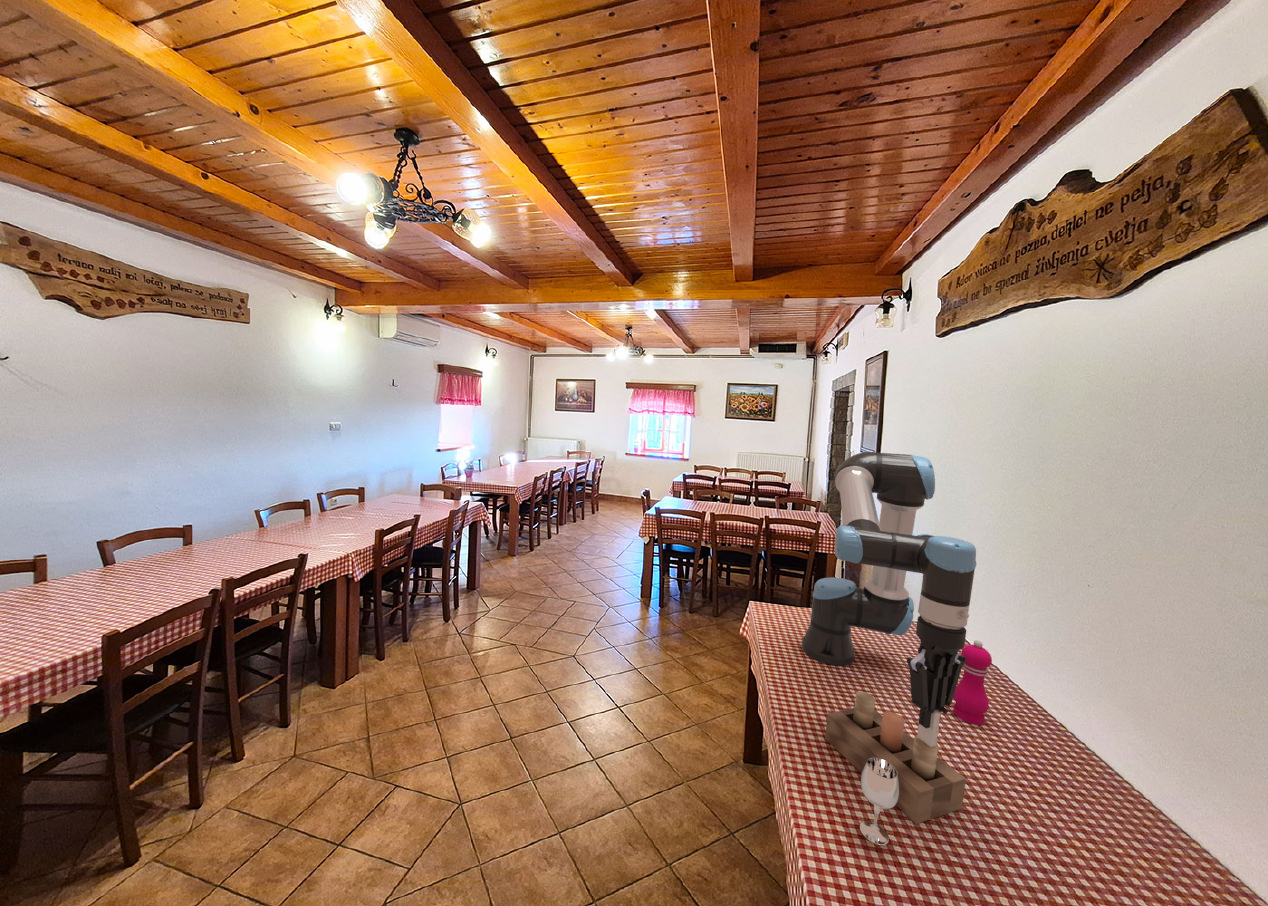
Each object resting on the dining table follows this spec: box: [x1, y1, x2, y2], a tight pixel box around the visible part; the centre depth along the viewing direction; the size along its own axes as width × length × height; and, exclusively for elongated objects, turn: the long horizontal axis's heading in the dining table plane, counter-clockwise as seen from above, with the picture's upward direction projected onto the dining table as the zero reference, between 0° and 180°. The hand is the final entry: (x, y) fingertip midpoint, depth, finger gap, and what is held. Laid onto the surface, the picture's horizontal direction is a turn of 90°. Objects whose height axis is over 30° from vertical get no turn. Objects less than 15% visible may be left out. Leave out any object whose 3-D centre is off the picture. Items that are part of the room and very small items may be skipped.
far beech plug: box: [853, 691, 876, 729], centre depth 98 cm, size 4×4×6 cm
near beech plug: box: [911, 734, 939, 780], centre depth 85 cm, size 4×4×6 cm
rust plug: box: [880, 711, 906, 752], centre depth 91 cm, size 4×4×6 cm
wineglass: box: [859, 758, 899, 846], centre depth 77 cm, size 6×6×12 cm
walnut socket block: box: [824, 707, 967, 825], centre depth 92 cm, size 22×12×6 cm, turn 20°
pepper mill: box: [952, 639, 993, 726], centre depth 111 cm, size 7×7×20 cm
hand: (926, 741), depth 84 cm, fingers closed
